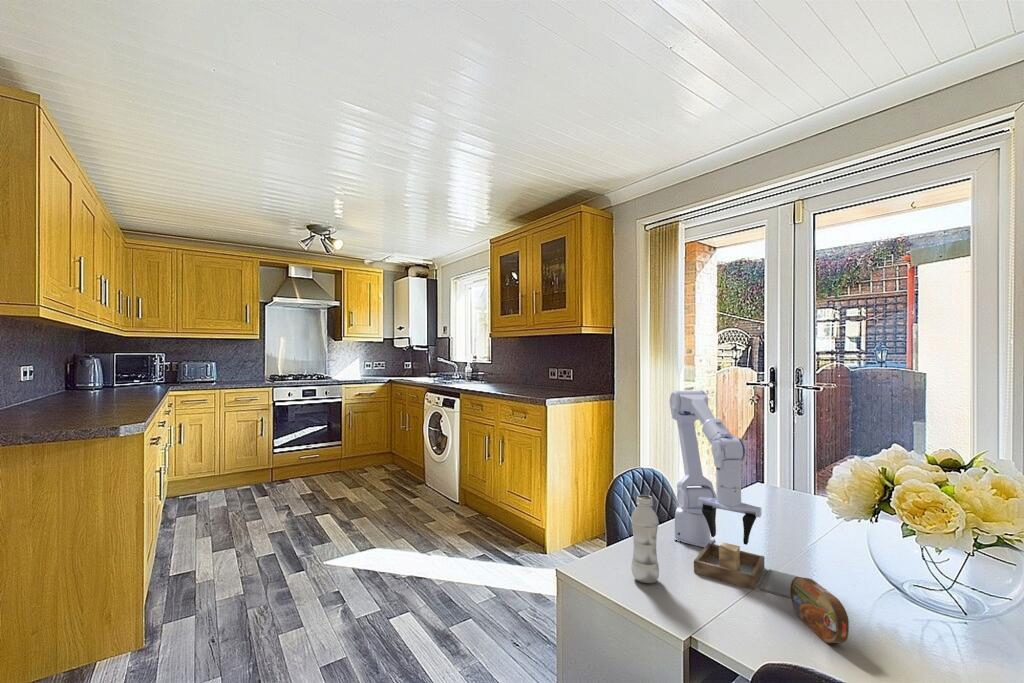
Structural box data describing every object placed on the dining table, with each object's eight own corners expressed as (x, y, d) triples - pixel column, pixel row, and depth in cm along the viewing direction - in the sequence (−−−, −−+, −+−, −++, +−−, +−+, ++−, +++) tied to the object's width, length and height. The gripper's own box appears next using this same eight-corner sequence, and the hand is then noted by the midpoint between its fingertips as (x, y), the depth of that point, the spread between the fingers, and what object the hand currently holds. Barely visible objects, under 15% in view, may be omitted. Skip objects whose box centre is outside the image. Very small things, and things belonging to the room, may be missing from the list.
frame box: (693, 572, 116) (693, 560, 116) (708, 554, 127) (708, 543, 127) (754, 589, 108) (753, 576, 108) (764, 568, 118) (764, 556, 118)
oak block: (719, 571, 117) (718, 547, 117) (723, 565, 120) (722, 542, 120) (736, 576, 114) (736, 551, 115) (740, 570, 118) (739, 546, 118)
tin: (789, 608, 100) (788, 569, 100) (803, 608, 100) (803, 569, 100) (835, 653, 85) (834, 607, 85) (853, 654, 85) (852, 607, 85)
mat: (760, 589, 108) (760, 588, 108) (769, 570, 117) (769, 569, 117) (800, 601, 103) (800, 599, 103) (806, 580, 112) (806, 578, 112)
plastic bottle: (645, 589, 108) (644, 503, 108) (625, 577, 114) (625, 495, 114) (665, 583, 111) (664, 499, 111) (645, 571, 117) (644, 491, 117)
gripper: (694, 484, 119) (695, 537, 119) (757, 494, 110) (758, 552, 110) (702, 478, 125) (703, 529, 124) (762, 487, 116) (763, 542, 115)
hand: (729, 539), depth 117 cm, fingers open, 7 cm apart
